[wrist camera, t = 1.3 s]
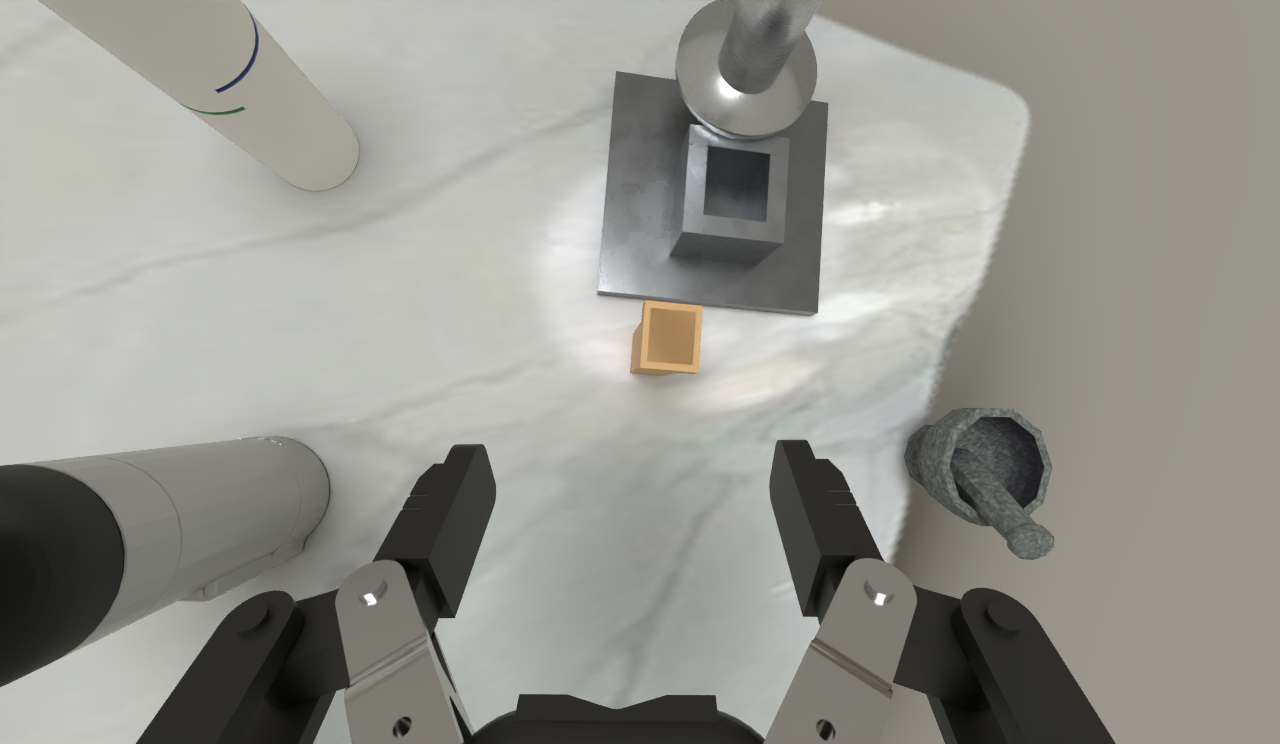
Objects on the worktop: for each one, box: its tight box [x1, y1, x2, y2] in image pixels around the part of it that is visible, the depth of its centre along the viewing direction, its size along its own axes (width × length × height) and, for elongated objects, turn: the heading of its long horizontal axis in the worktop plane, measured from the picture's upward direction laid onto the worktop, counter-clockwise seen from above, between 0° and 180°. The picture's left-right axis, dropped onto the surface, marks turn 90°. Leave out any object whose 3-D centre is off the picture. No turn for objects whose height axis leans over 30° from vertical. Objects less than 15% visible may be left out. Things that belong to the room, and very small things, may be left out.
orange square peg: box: [630, 300, 703, 375], centre depth 36 cm, size 4×4×12 cm
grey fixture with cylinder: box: [597, 0, 828, 316], centre depth 29 cm, size 22×20×30 cm
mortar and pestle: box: [905, 408, 1054, 560], centre depth 39 cm, size 11×9×12 cm
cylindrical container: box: [38, 0, 359, 191], centre depth 28 cm, size 7×7×25 cm
